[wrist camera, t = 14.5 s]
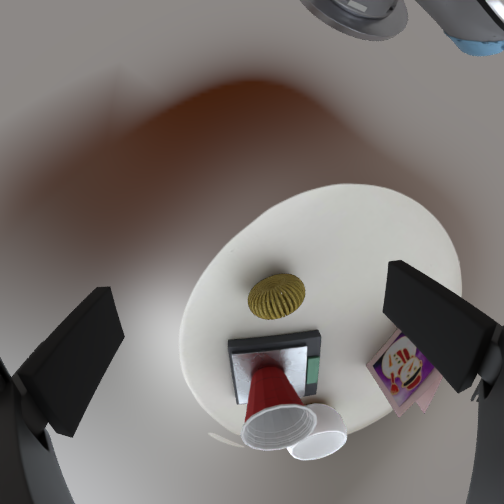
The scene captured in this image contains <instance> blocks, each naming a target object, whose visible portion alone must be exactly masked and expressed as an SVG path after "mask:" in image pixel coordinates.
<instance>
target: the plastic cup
mask: <svg viewBox="0 0 504 504" xmlns="http://www.w3.org/2000/svg"><path fill="white" fill-rule="evenodd" d="M316 424H317V417H316V414H315V413H314V412H313V411H312V410H311V409H309V408H308V407H306V406H305V405H304V404H303V402H302V401H301V399H300V397H299V396H298V394H297V392H296V391H295V389H294V387H293V386H292V384H291V383H290V382H289V380H288V378H287V376H286V375H285V374H284V372H283V371H282V370H281V369H279V368H276V367H265V368H262V369H260V370H258V371H256V372H255V374H254V375H253V377H252V380H251V384H250V391H249V395H248V403H247V412H246V417H245V423H244V424H243V427H242V431H241V435H240V436H241V438H242V440H243V442H244V443H245V444H246V445H248V446H250V447H251V448H254V449H259V450H264V451H267V450H279V449H283V448H287V447H290V446H293V445H295V444H297V443H299V442H301V441H303V440H304V439H305V438H306V437H308V436H309V435H310V434H311V433H312V432H313V430H314V428H315V426H316Z"/></svg>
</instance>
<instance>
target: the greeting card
mask: <svg viewBox="0 0 504 504" xmlns="http://www.w3.org/2000/svg"><path fill="white" fill-rule="evenodd" d="M366 366H367V368H368V370H369V371H370V373H371V374H372V376H373V377H374V379H375V381H376V382H377V384H378V385H379V387H380V388H381V390H382V392H383V393H384V395H385V396H386V398H387V400H388V401H389V403H390V405H391V406H392V408H393V409H394V411H395V413H396V414H397V416H398V418H399V417H400V416H401V415H402V414H403V413H404V412H405V411H406V410H407V409H408V408H409V407H410V406H411V405H412V404H413V403H414V402H415V401H416V403H417V404H418V405H419V407H420V408H421V410H422V411H423V413H425V412H426V410H427V408H428V406H429V404H430V402H431V400H432V398H433V397H434V395H435V392H436V390H437V388H438V386H439V384H440V382H441V380H442V378H443V376H442V375H441V374H440V372H439V371H438V370H437V369H436V368H435V367H434V366H433V365H432V364H431V363H430V361H429V360H428V359H427V358H426V357H425V356H424V355H423V354H422V353H421V352H420V351H419V349H418V348H417V347H416V346H415V345H414V344H413V343H412V342H411V341H410V340H409V339H408V338H407V337H406V336H405V335H404V334H403V333H402V332H401V330H400V329H399V328H398V329H397V330H396V331H395V332H394V334H393V335H392V336H391V337H390V339H389V340H388V341H387V342H386V343H385V345H384V346H383V347H382V348H381V349H380V350H379V352H378V353H377V354H376V355H375V356H374V357H373V358H372V360H371V361H370V362H369V363H368V364H367V365H366Z"/></svg>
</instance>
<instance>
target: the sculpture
mask: <svg viewBox="0 0 504 504" xmlns="http://www.w3.org/2000/svg"><path fill="white" fill-rule="evenodd" d="M268 278H269V279H268ZM268 278H265V279H263V280H262V281H260V282H259V283H257V284H256V285H255V286H254V287H253V288H252V289H251V291H250V293H249V296H248V305H249V308H250V310H251V311H252V313H253V314H254V315H256V316H258V317H259V318H262V319H267V320H270V319H271V320H273V319H278V318H282V316H283V317H285V315H286V316H287V315H289V314H291V313H293V312H294V311H295V310H296V309H298V308H299V306H300V305H301V304H302V302H303V300H304V298H305V287H304V284H303V283H302V281H301V280H300V279H299V278H297V277H296V276H295V275H292V274H276V275H272V276H271V277H268ZM288 289H289V290H288ZM281 293H282V294H281ZM295 299H296V300H295ZM266 301H267V302H266ZM262 302H263V303H262ZM284 313H285V314H284Z"/></svg>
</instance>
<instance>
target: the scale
mask: <svg viewBox="0 0 504 504" xmlns="http://www.w3.org/2000/svg"><path fill="white" fill-rule="evenodd" d="M320 347H321V335H320V333H319V331H318V330H315V331H308V332H301V333H293V334H285V335H277V336H268V337H258V338H248V339H236V340H228V352H229V358H230V365H231V372H232V378H233V384H234V391H235V397H236V403H237V404H247V403H248V395H249V391H250V384H251V380H252V377H253V375H254V374H255V372H256V371H258V370H260V369H262V368H265V367H276V368H279V369H281V370H282V371H283V372H284V374H285V375H286V376H287V378H288V380H289V382H290V383H291V384H292V386H293V387H294V389H295V391H296V392H297V394H298V396H299V397H304V396H310V395H315V394H316V390H317V381H318V371H319V360H320Z"/></svg>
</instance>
